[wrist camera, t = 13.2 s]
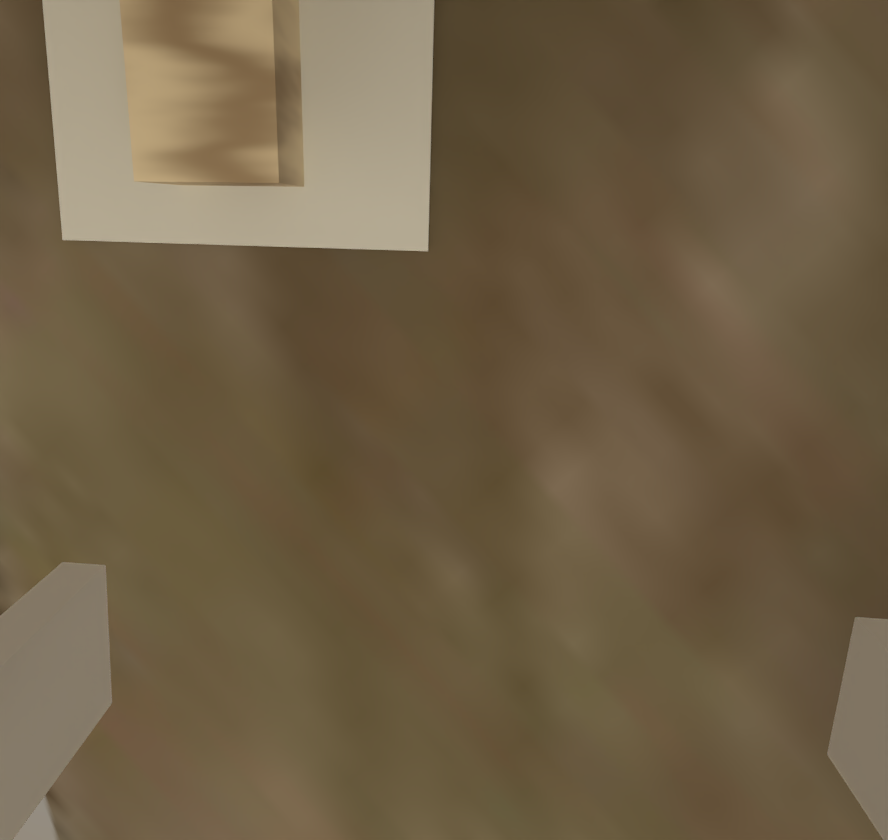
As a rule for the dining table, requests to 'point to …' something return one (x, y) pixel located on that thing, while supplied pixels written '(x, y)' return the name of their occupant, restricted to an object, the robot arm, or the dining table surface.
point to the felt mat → (324, 137)
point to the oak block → (214, 91)
